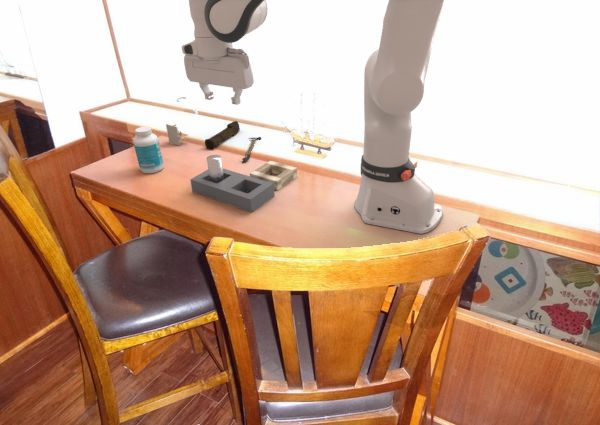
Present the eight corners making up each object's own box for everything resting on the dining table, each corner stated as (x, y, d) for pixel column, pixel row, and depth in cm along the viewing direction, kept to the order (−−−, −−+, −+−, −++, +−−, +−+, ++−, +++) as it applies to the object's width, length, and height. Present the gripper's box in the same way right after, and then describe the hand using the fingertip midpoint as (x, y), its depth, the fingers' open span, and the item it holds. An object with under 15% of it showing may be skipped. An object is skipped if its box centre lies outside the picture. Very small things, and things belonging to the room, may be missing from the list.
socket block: (297, 176, 132) (296, 167, 130) (277, 190, 125) (277, 181, 123) (270, 169, 136) (270, 160, 135) (250, 182, 129) (249, 173, 128)
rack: (274, 196, 122) (273, 183, 120) (251, 212, 115) (250, 199, 113) (216, 177, 133) (214, 165, 131) (192, 191, 126) (190, 179, 124)
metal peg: (228, 187, 127) (224, 156, 122) (219, 193, 124) (214, 162, 119) (218, 184, 129) (213, 153, 124) (208, 190, 126) (203, 158, 121)
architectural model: (176, 140, 160) (172, 121, 156) (189, 144, 156) (186, 124, 152) (169, 143, 157) (165, 124, 153) (182, 147, 154) (178, 127, 150)
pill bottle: (167, 170, 138) (158, 130, 131) (144, 176, 135) (133, 135, 128) (160, 162, 143) (151, 122, 136) (137, 167, 140) (127, 128, 133)
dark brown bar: (214, 151, 150) (212, 138, 148) (205, 149, 152) (203, 136, 149) (245, 132, 164) (244, 120, 162) (236, 130, 166) (235, 119, 163)
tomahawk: (244, 140, 159) (243, 137, 159) (261, 139, 158) (261, 136, 158) (229, 164, 142) (228, 161, 141) (249, 163, 141) (248, 160, 140)
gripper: (255, 46, 105) (261, 103, 112) (194, 41, 115) (203, 93, 122) (238, 52, 101) (245, 110, 108) (176, 46, 111) (187, 100, 118)
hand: (222, 101), depth 115 cm, fingers open, 8 cm apart
